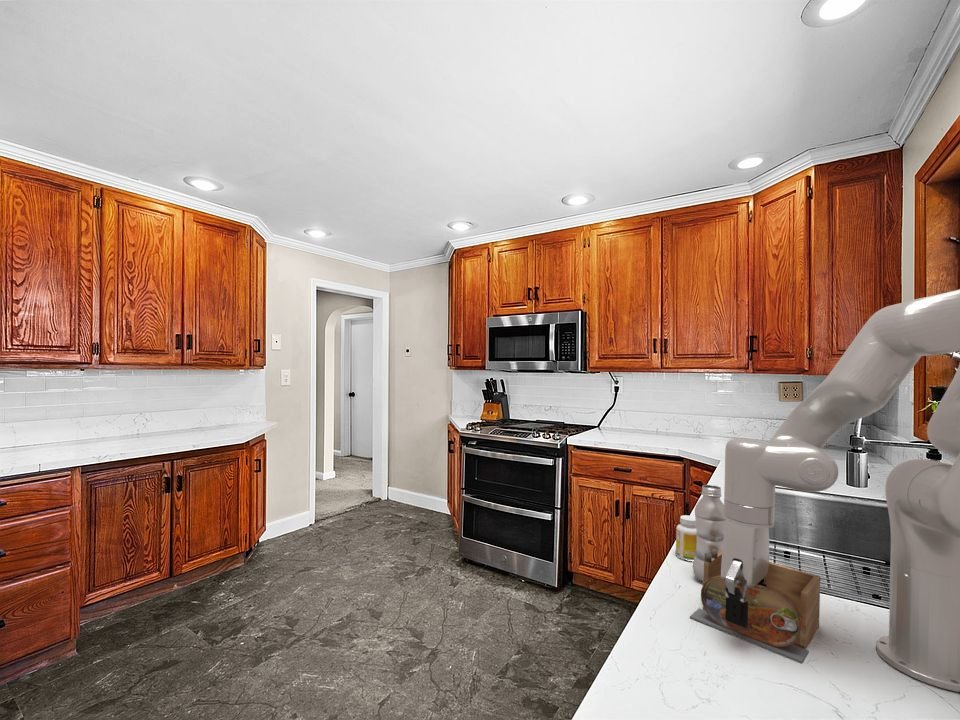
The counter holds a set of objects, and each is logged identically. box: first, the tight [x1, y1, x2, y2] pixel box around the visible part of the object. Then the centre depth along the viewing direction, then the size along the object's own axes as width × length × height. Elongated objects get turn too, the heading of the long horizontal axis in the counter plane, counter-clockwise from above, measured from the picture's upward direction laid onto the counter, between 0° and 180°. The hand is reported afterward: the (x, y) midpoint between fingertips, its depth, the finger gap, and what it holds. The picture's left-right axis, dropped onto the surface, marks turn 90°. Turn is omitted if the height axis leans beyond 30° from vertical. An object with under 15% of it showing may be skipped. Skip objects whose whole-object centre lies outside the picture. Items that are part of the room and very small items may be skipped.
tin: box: [700, 575, 802, 647], centre depth 79 cm, size 15×3×8 cm, turn 44°
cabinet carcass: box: [702, 549, 821, 650], centre depth 85 cm, size 16×10×10 cm, turn 44°
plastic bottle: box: [692, 484, 727, 583], centre depth 99 cm, size 6×7×20 cm
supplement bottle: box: [675, 514, 697, 560], centre depth 112 cm, size 5×5×10 cm
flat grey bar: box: [689, 608, 810, 664], centre depth 79 cm, size 17×4×1 cm, turn 44°
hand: (746, 613), depth 79 cm, fingers open, 9 cm apart
